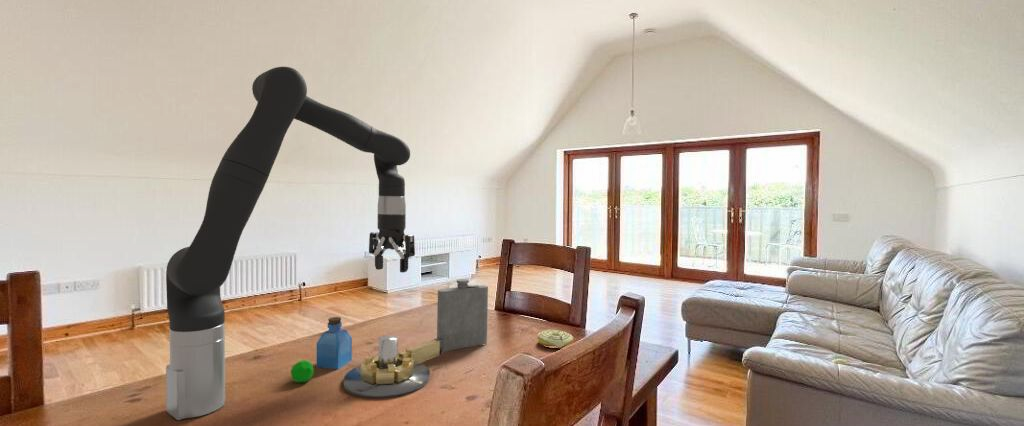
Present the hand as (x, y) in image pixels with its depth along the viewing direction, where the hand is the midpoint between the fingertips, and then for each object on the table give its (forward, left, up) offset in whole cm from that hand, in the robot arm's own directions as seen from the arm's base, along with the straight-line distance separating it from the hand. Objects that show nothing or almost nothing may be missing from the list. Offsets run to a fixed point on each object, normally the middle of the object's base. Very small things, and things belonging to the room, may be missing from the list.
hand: (391, 270), depth 124 cm
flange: (-12, -13, -24) cm, 29 cm away
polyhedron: (-25, +2, -24) cm, 34 cm away
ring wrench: (-6, -13, -22) cm, 26 cm away
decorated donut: (+36, -32, -24) cm, 54 cm away
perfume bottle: (-14, +6, -24) cm, 28 cm away
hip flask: (+17, -11, -24) cm, 31 cm away
